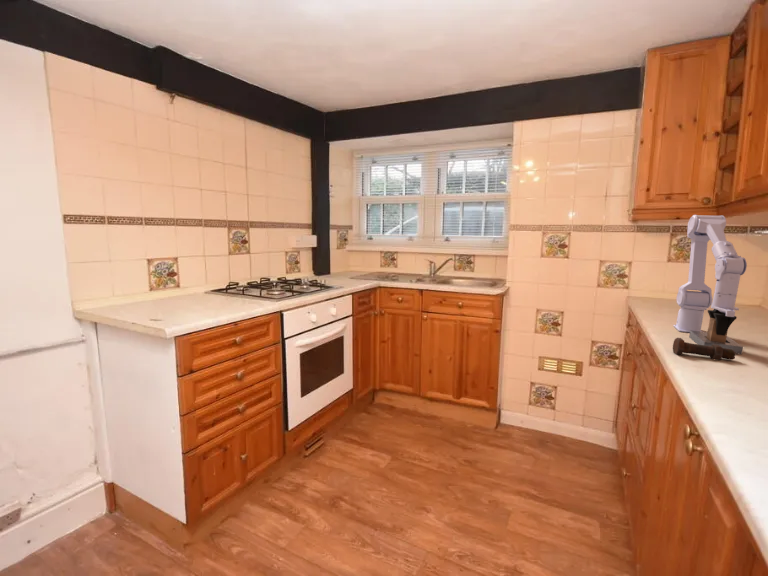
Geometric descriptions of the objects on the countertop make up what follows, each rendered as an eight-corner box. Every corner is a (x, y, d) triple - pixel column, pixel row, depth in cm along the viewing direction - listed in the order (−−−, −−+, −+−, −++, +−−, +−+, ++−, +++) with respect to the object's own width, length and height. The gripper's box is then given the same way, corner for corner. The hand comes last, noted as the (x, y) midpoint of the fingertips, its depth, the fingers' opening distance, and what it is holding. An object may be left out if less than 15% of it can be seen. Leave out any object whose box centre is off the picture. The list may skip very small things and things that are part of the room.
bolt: (732, 367, 121) (673, 358, 126) (727, 355, 124) (671, 346, 130) (740, 354, 117) (680, 345, 122) (735, 342, 121) (677, 334, 126)
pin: (706, 340, 137) (710, 317, 136) (720, 342, 136) (724, 319, 134) (709, 343, 134) (714, 320, 132) (724, 345, 132) (729, 321, 131)
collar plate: (689, 336, 146) (690, 330, 145) (723, 341, 142) (724, 334, 141) (703, 349, 131) (704, 342, 131) (741, 354, 127) (743, 346, 127)
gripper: (750, 298, 123) (742, 340, 126) (732, 291, 137) (724, 329, 139) (721, 296, 126) (714, 337, 129) (706, 289, 139) (700, 326, 142)
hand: (718, 333), depth 134 cm, fingers closed on pin, 4 cm apart
